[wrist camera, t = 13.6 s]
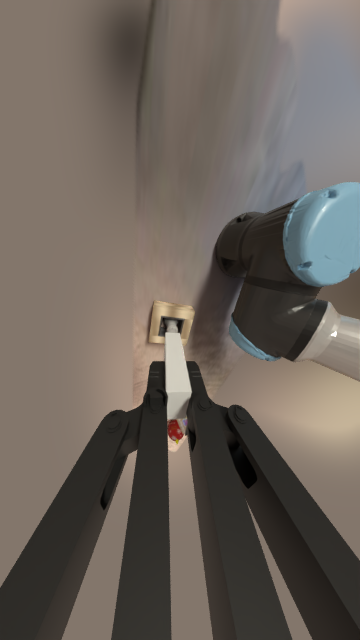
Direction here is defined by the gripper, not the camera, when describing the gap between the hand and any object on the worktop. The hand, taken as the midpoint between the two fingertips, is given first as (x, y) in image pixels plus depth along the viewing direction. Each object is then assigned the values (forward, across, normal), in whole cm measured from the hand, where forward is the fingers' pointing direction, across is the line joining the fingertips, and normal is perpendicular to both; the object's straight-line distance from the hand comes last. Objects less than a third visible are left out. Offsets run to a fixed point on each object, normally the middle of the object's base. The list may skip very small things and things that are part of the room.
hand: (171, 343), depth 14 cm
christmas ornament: (+28, +10, -70) cm, 76 cm away
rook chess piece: (+28, +2, -10) cm, 30 cm away
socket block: (+28, +2, -10) cm, 29 cm away
